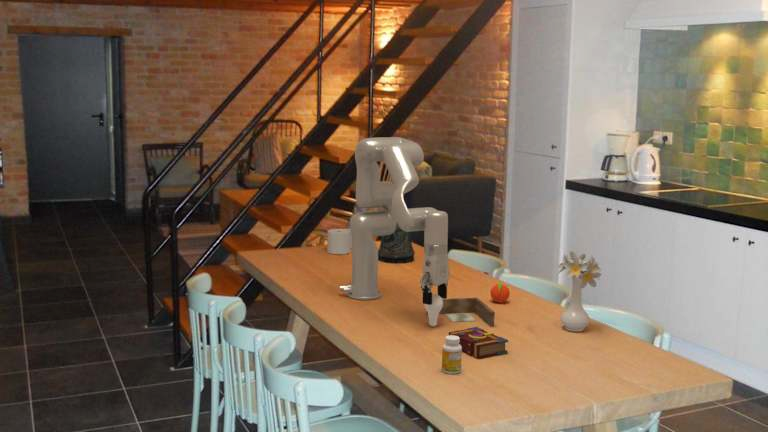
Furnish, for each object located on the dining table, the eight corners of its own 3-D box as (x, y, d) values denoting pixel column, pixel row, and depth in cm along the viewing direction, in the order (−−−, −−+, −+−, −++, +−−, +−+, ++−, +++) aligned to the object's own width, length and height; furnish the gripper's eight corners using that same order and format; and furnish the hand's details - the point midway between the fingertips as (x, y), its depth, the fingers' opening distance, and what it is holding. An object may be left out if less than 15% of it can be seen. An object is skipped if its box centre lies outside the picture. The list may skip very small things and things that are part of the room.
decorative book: (477, 360, 244) (478, 343, 244) (444, 344, 258) (445, 329, 257) (507, 354, 250) (508, 338, 250) (474, 339, 264) (474, 324, 263)
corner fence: (441, 329, 273) (441, 314, 272) (426, 313, 290) (427, 299, 290) (494, 326, 277) (494, 312, 276) (476, 311, 294) (477, 297, 293)
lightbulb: (444, 325, 277) (445, 292, 275) (439, 330, 272) (440, 297, 270) (426, 323, 279) (427, 290, 277) (421, 328, 274) (422, 295, 272)
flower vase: (574, 339, 265) (579, 262, 261) (544, 323, 282) (548, 250, 278) (610, 336, 269) (615, 260, 265) (578, 320, 286) (582, 248, 282)
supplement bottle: (440, 367, 237) (441, 334, 235) (459, 367, 238) (460, 334, 236) (443, 374, 232) (444, 340, 230) (462, 374, 232) (463, 340, 231)
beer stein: (414, 264, 365) (416, 207, 361) (370, 263, 366) (371, 206, 361) (414, 256, 382) (415, 201, 378) (371, 255, 382) (372, 200, 378)
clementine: (508, 306, 302) (509, 287, 301) (489, 304, 303) (489, 285, 302) (509, 300, 309) (510, 281, 308) (490, 299, 311) (491, 280, 310)
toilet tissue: (324, 253, 383) (324, 232, 381) (330, 248, 394) (330, 227, 393) (347, 255, 381) (348, 233, 379) (353, 249, 392) (353, 228, 391)
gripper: (432, 254, 262) (431, 308, 264) (458, 246, 276) (457, 297, 279) (411, 252, 266) (411, 304, 268) (438, 244, 280) (437, 294, 283)
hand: (434, 300), depth 273 cm, fingers open, 9 cm apart
